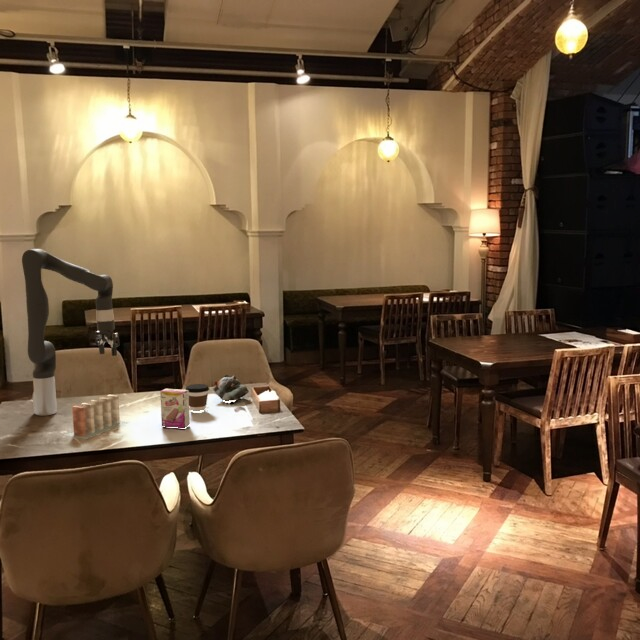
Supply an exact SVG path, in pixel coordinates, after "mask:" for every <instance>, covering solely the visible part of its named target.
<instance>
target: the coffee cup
mask: <svg viewBox="0 0 640 640" xmlns="http://www.w3.org/2000/svg"><path fill="white" fill-rule="evenodd" d="M184 390H189V411H191V410H193V411H200V410H204V409H205V408H206V407H207V403H208V395H209V394H208V391H210V387H209V385H207V384H205V383H194V384H189V385H187V386H186V387H185V388H184ZM205 410H206V409H205Z"/></svg>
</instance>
